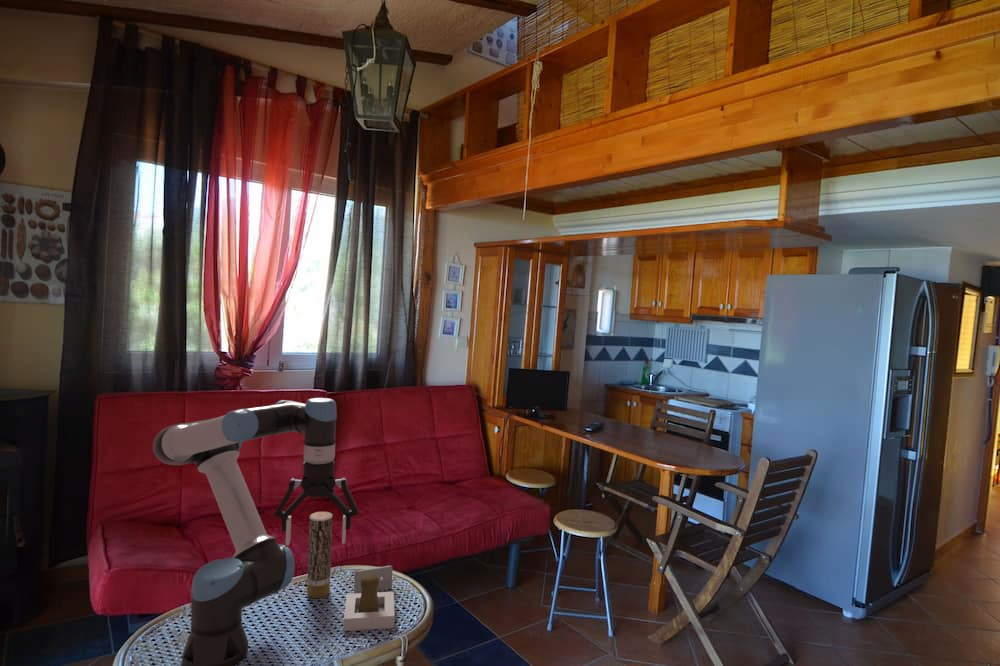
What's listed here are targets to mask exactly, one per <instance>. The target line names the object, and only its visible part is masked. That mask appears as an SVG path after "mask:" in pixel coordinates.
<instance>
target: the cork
mask: <svg viewBox="0 0 1000 666" xmlns="http://www.w3.org/2000/svg"><path fill="white" fill-rule="evenodd" d="M378 584H379V580H378V577H377V576H375V575H372V574H369V575H365V576H364V577H363V578H362V579H361V587H362V593H361V599H360V604H359V610H358V613H364V612H379V608H378V598H377V586H378Z"/></svg>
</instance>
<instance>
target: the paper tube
mask: <svg viewBox="0 0 1000 666" xmlns="http://www.w3.org/2000/svg"><path fill="white" fill-rule="evenodd" d="M308 526H309V529H308V550H307V551H308V553H307V555H308V557H307V587H306V588H307V589H306V593H307V594H306V595H308V597H310V598H312V599H321V598H324V597H326V596H328V595H329V593H330V590H331V567H332V565H331V564H332V563H331V562H332V540H333V538H332V535H333V513H331V512H329V511H316V512H314V513H311V514H310V515H309V525H308Z"/></svg>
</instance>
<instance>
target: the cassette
mask: <svg viewBox="0 0 1000 666" xmlns="http://www.w3.org/2000/svg"><path fill="white" fill-rule="evenodd" d="M369 574H372V575H375V576H377V577H378V580H379V584H378V586H377V592H379V591H382V590H383V591H382V592H385V591H384V590H386V591H388V590H387V589H391V590H392V588H393V566H392V565H385V566H379V567H377V566H376V567H371V568H365V569H357V570H354V582H353V583H354V585H353V586H354V587H353V594H356V593H362V587H361V579H362V578H363V577H364V576H365V575H369Z"/></svg>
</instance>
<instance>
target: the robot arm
mask: <svg viewBox="0 0 1000 666" xmlns="http://www.w3.org/2000/svg"><path fill="white" fill-rule="evenodd" d="M337 414H338V413H337V403H336V401H335V400H334V399H332V398H328V397H327V398H326V397H314V398H313V397H312V398H309V399H307V400H306V402H305V403H303V402H300V401H299V402H298V401H295V400H291V399H289V400H286V399H285V400H284V399H281V400H278V401H277V402H276V403H274V404H270V405H265V406H257V407H256V406H255V407H250V408H249V407H248V408H239V409H235V410H231V411H228V412H227V413H226V414H225V415H221V416H218V417H212V418H209V419H203V420H202V419H201V420H197V421H191V422H182V423H181V422H180V423H176V424H172V425H170V426H167V427H165V428H163V429H161V431H159V432H158V433H157V434H156V435H155V437H154V440H153V443H152V451H153V454H154V456H155V457H156V459H158V460H159V461H160V462H162V463H163V464H165V465H169V466H184V465H189V464H190V465H191V464H195V466H196V469H197V470H198V472H199V473H202V474H205V475H206V478H207V481H208V483H209V485H210V488H211V490H212V494H213V495H214V498H215V500H216V503H217V505H218V509H219V511H220V513H221V515H222V518H223V521H224V523H225V526H226V529H227V531H228V534H229V535H230V539H231V541H232V543H233V546H234V549H235V552H234V554H233V556H232V557H224V558H222V559H221V558H218V559H215V560H211V561H210V562H207V563H206V564H204V565H202V566H201V567H200V568H199V569H198V570H197V571H196V572H195V574H194V576H193V577H192V581H191V582H192V583H191V589H190V597H191V602H190V604H191V605H190V606H191V609H190V615H191V616H190V618H191V619H190V631H189V632H190V633H189V635H188V637H187V641H186V642H185V646H184V649H183V652H182V659H181V665H182V666H238V665H239V664H240V663H242V662H243V661H244V660H245V658H246V657H247V656H248V653H249V639H248V636H247V633H246V631H245V628H244V626H243V623H242V617H243V616H242V614H243V609H244V608H246V607H248V606H250V605H252V604H254V603H256V602H258V601H261V600H262V599H265V598H267V597H269V596H271V595H275V594H277V593H279V591H282V590H283V589H285V588H286V587H288V586H289V584H291V582H292V580H293V578H294V573H295V570H296V569H295V566H296V565H295V558H294V555H293V552H292V550H291V549H290V548H289V547H287V546H290V543H291V537H292V536H291V535H292V515H291V514H292V513H293V512H294V511H295V510H296V509H297V508H298V506H299V505H300V504H301V503H302V502H303V501H304V500H305V499H306V498H307V497H310V498H311V499H313V498H325V497H328V499H330V500H331V502H333V504H334V505H335V506H336V507H337V508H338V509H339V510H340V512H341V513H342V514H343V516H342V531H341V544H342V545H344V544H346V537H347V536H346V535H347V530H351V525H352V522H351V521H352V517H353V516H357V515H358V514H359V508H358V507H359V506H357V503H356V501H355V498H354V497H353V495H352V493H351V491H350V488H349V487H348V483H347V482H348V480H347V477H345V476H343V477H341V478H339V479H336V478H335V460H334V459H335V457H336V434H337V433H336V432H337V431H336V428H337V418H338V415H337ZM292 432H293V433H298V434H303V435H304V440H303V445H304V446H303V460H304V461H303V464H302V465H303V468H302V469H303V470H302V479H297V478H295V477H291V479H290V480H289V482H288V483H289V484H288V489H287V490H286V492H285V493H284V496H283V498H282V499H281V502H280V503H279V504H278V507H277V508H276V510H275V512H274V515H273V516H274V517H275V518H280V519H281V532H285V544H278V541H277V539H276V538H275V536H272V535H269V534H268V533H267V531H266V529H265V527H264V524H263V521H262V519H261V516H260V514H259V512H258V509H257V507H256V504H255V502H254V500H253V497H252V496H251V493H250V489H249V488H248V485H247V483H246V481H245V477H244V476H243V474H242V471H241V469H240V466H239V464H238V459H239V456H240V455H241V454H240V450H241V449H242V446H243V445H242V444H243V443H244V442H248V441H251V440H255V439H256V440H257V439H260V438H266V437H271V436H275V435H281V434H282V435H283V434H286V433H292ZM299 486H300V487H301V488H302V489H303V491H302V492H301V493H300V494H299V495H298V496H297V497H296V499H295V500H294V501H293V502H292V503H291V504H290V505H288V508H287V507H286V509H285V510H283V509H284V507H285V506H286V505H287V502H288V500H289V499H290V497H291V495H292V493H293V492H294V490H295V489H297V488H298V487H299ZM335 486H338V487H337V488H340V489H341V491H342V494H343V495H344V498H345V499H346V502H347V504H348V506H349V507H348V506H347V505H346V503H345V502H344V500H342V499H341V498H340V496H339V495H338V494H337V493H336V491H335V490H334V488H335Z"/></svg>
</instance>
